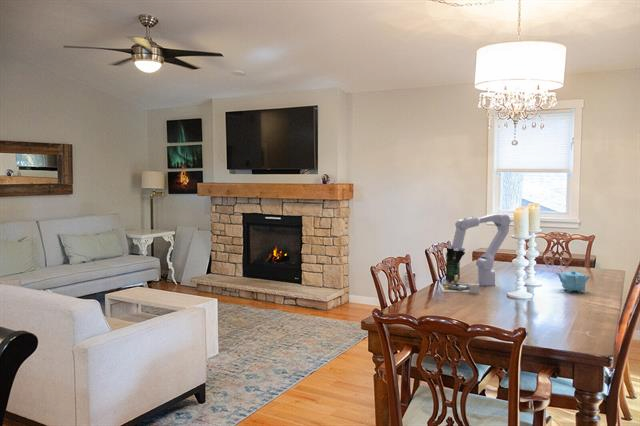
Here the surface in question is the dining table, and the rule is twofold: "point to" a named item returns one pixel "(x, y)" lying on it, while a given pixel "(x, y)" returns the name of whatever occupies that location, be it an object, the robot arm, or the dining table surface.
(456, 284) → the sprocket
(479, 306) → the dining table surface
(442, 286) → the base plate
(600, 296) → the dining table surface
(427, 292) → the dining table surface
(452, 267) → the coffee jar
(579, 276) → the teapot
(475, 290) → the yellow banded block
